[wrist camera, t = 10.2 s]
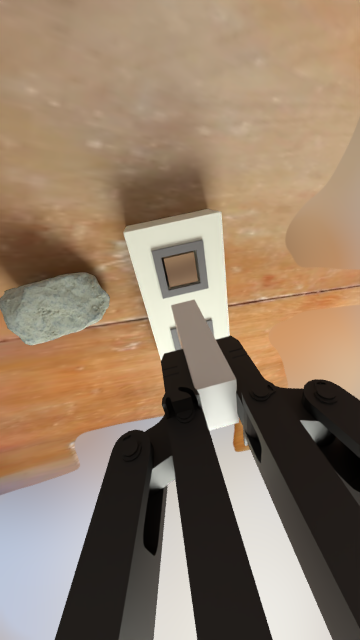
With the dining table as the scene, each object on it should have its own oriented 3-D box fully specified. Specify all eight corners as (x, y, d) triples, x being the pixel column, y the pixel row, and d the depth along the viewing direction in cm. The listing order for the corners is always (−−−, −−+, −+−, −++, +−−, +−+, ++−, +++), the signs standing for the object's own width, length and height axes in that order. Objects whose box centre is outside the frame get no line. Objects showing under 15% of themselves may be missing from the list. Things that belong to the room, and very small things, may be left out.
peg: (159, 248, 33) (163, 258, 28) (185, 243, 33) (193, 252, 28) (165, 273, 35) (169, 287, 30) (189, 268, 35) (197, 280, 30)
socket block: (126, 226, 31) (123, 233, 25) (207, 208, 31) (222, 211, 26) (162, 354, 43) (165, 377, 38) (220, 339, 44) (232, 360, 38)
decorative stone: (16, 321, 35) (36, 367, 31) (-25, 266, 27) (-5, 318, 22) (93, 292, 41) (119, 327, 37) (80, 240, 33) (112, 277, 28)
